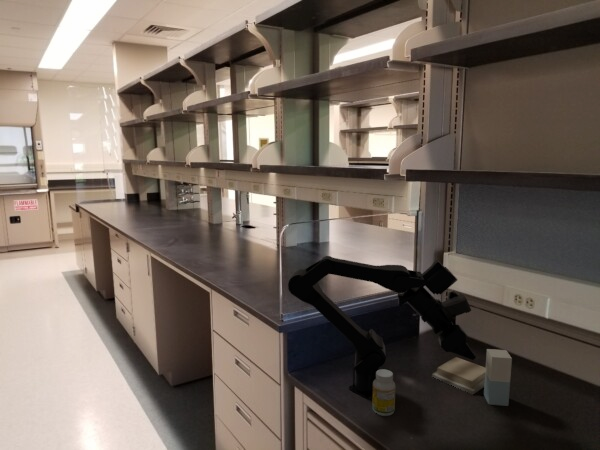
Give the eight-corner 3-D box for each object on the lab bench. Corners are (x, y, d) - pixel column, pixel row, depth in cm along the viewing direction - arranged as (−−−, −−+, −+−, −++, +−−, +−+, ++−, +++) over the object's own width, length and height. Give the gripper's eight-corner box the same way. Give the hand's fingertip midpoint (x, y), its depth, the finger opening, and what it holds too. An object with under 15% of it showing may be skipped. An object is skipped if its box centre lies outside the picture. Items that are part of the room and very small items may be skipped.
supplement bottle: (392, 418, 101) (393, 380, 99) (369, 413, 103) (370, 376, 101) (396, 406, 106) (397, 370, 104) (374, 402, 108) (375, 366, 106)
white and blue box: (488, 404, 107) (491, 356, 105) (483, 394, 111) (486, 349, 109) (508, 406, 106) (511, 358, 104) (502, 396, 111) (505, 350, 109)
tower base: (431, 377, 120) (432, 367, 120) (454, 364, 128) (454, 354, 127) (472, 394, 111) (473, 384, 111) (494, 379, 119) (494, 369, 118)
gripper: (458, 296, 97) (507, 345, 97) (444, 275, 115) (485, 316, 115) (421, 327, 99) (469, 376, 99) (413, 302, 118) (453, 342, 118)
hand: (469, 350), depth 108 cm, fingers open, 9 cm apart
